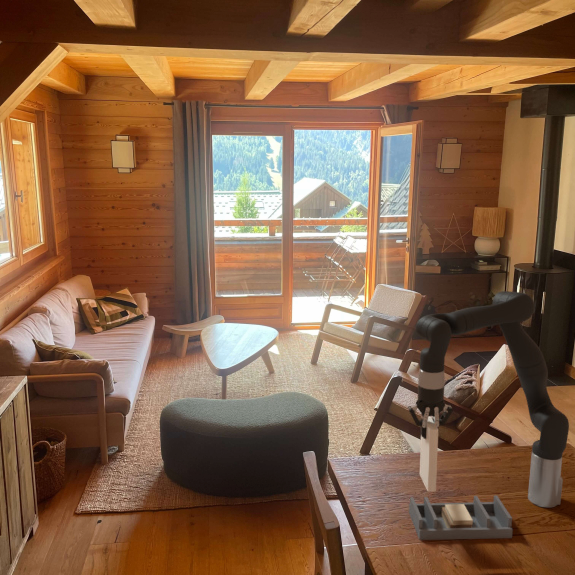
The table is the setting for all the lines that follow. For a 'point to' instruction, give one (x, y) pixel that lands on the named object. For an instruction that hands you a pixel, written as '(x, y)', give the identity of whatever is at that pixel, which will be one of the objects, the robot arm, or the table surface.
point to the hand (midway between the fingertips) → (429, 437)
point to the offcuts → (456, 516)
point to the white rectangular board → (429, 456)
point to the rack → (486, 524)
